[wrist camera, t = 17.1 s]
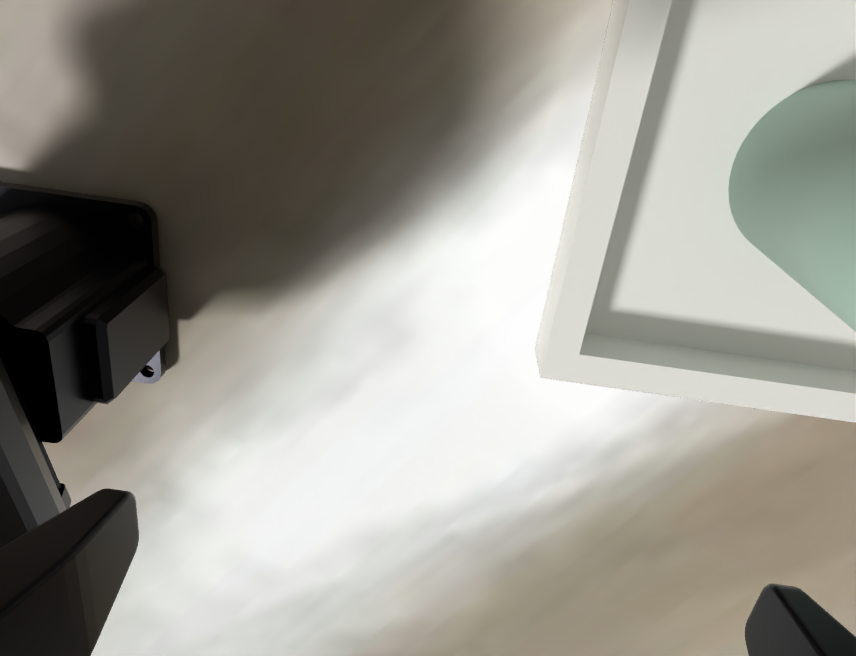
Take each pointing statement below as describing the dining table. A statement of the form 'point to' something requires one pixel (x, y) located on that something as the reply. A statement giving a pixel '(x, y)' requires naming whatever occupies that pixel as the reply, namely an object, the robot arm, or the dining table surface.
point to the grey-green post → (804, 191)
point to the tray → (693, 214)
